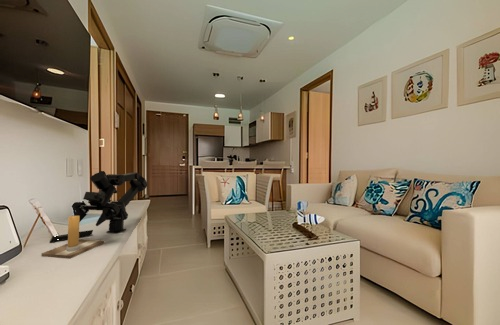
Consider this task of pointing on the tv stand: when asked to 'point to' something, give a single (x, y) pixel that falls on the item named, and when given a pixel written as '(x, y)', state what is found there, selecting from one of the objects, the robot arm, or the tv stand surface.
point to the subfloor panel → (62, 252)
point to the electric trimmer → (65, 237)
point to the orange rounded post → (73, 233)
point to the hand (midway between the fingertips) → (85, 225)
